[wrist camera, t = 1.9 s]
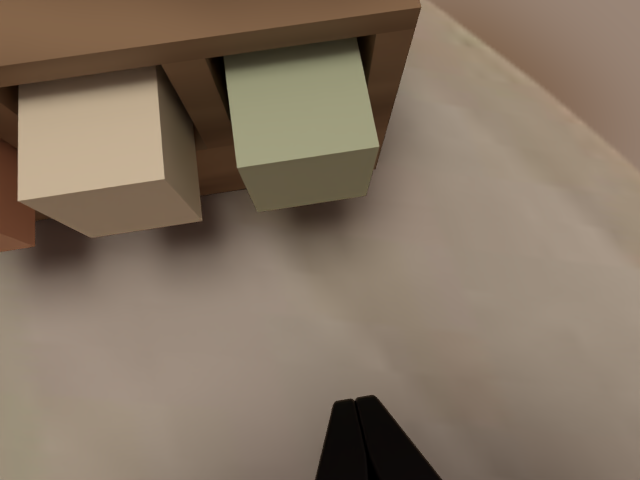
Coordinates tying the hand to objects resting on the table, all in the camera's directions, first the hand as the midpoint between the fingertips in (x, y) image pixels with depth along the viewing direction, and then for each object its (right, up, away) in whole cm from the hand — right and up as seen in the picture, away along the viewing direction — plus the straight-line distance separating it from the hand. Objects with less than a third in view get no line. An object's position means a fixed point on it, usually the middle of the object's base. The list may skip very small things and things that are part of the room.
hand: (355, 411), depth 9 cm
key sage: (-1, +8, +8) cm, 11 cm away
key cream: (-7, +7, +8) cm, 13 cm away
